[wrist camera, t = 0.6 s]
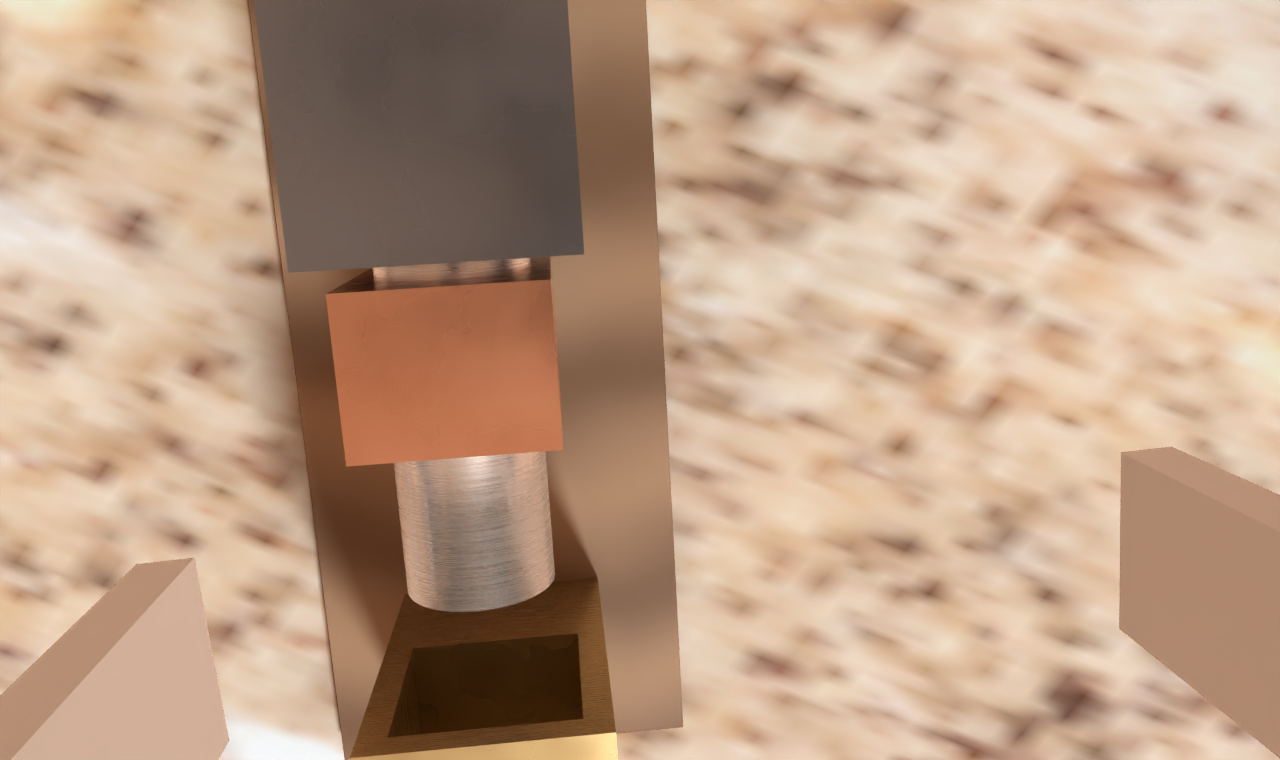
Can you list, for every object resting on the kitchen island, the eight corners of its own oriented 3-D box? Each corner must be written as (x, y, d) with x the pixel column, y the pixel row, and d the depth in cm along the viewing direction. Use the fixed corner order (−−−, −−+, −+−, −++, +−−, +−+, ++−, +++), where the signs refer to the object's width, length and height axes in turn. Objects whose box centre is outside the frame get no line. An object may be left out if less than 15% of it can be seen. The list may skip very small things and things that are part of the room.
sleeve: (338, -56, 32) (233, -167, 21) (553, -64, 32) (555, -177, 22) (370, 239, 33) (288, 273, 23) (573, 227, 34) (584, 254, 23)
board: (243, -87, 31) (236, -94, 30) (638, -102, 32) (640, -109, 31) (349, 747, 37) (344, 759, 36) (680, 715, 38) (683, 727, 37)
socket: (408, 585, 36) (349, 758, 25) (596, 568, 36) (616, 732, 26) (422, 715, 37) (371, 933, 26) (605, 697, 37) (627, 905, 27)
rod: (343, -49, 28) (276, -118, 21) (527, -56, 28) (520, -127, 21) (407, 542, 31) (367, 646, 25) (570, 529, 32) (576, 628, 25)
